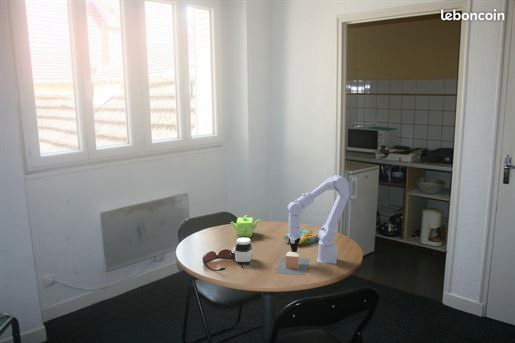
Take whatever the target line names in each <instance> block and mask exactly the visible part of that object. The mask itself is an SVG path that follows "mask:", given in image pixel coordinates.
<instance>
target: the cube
mask: <svg viewBox="0 0 515 343" xmlns="http://www.w3.org/2000/svg"><path fill="white" fill-rule="evenodd" d="M285 255H286V256H285V258H286V268H294V269H298V268H299V265H300V259H301V252H298V251H297V252H292V251H287V253H286V254H285Z"/></svg>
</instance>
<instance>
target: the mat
mask: <svg viewBox="0 0 515 343" xmlns="http://www.w3.org/2000/svg"><path fill="white" fill-rule="evenodd" d="M309 262H310V259H309V258H300V265H299V268H298V269H294V268H286V256H285V257H284V256H283V257H281V259H280V260H279V263H278V266H277V267H276V271H275V273H274V274H278V275H280V274H282V275H292V276H294V275H295V276H306V273H307V271H308V270H307V269H308V266H309Z"/></svg>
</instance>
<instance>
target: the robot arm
mask: <svg viewBox="0 0 515 343" xmlns="http://www.w3.org/2000/svg"><path fill="white" fill-rule="evenodd" d="M328 190H329V191H336V192H335V193H336V194H337V197H336V199H335V200H334V204H333V205H332V208H331V211H330V213H329V215H328V217H327V220H326V222H325V223H324V224H323V225H322V226H321V228H320V229H319V230H318V231H317V233H318V234H317V235H318V238H319V240H318V250H317V251H318V255H317V261H316V263H321V264H322V263H323V264H335V265H336V264H337V261H338V244H335V241H336V240H335V236H336V234H337V233H336V232H337V230H336V228H337V226H338V223H339V220H340V218H341V216H342V214H343V211H344V209H345V207H346V205H347V202H348V200H349V199H350V183H349V182H348V180H347V179H346V178H345V177H343V176H342V175H340V174H338V173H335V174H332V175H331V176H329V177H328V178H327V179H325V180H324V181H323V182H322V183H321V184H320V185H318V186H316V188H314V190H311V192H304V193H302V194H301V196H300V197H298V198H297V199H294V201H291V202H290V203H288V205H287V207H286V208H287V211H288V233H286V235H285V236H288V237H289V239H288V241H289V242H288V241H287V242H288V243H289V244H290V248H291V249H290V250H291V252H298V247H299V245H298V244H299V241H300V239H301V238H300V237H301V234H300V231H301V214H302V212H303V210H305V209H306V208H308V207H309V206H310V205H311V204H313V203H314V202H315V199H316V198H317V197H319V196H321V195H322V194H323V193H325V192H326V191H328Z"/></svg>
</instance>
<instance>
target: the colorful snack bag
mask: <svg viewBox="0 0 515 343" xmlns="http://www.w3.org/2000/svg"><path fill="white" fill-rule="evenodd" d="M300 234H301V237H300V238H301V239H300V241H299V244H298V247H301V246H305V245H307V244H310V243H314V242H317V241H319V240H320V239H319V238H318V235H317V234H318V232H316V231H312V230H310V229H307V228H305V229H303V230H300ZM281 239H282V240H284V241H287V242H288V243H289V241H288V239H289V237H288V236H286V235H284V236H282V237H281Z"/></svg>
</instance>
